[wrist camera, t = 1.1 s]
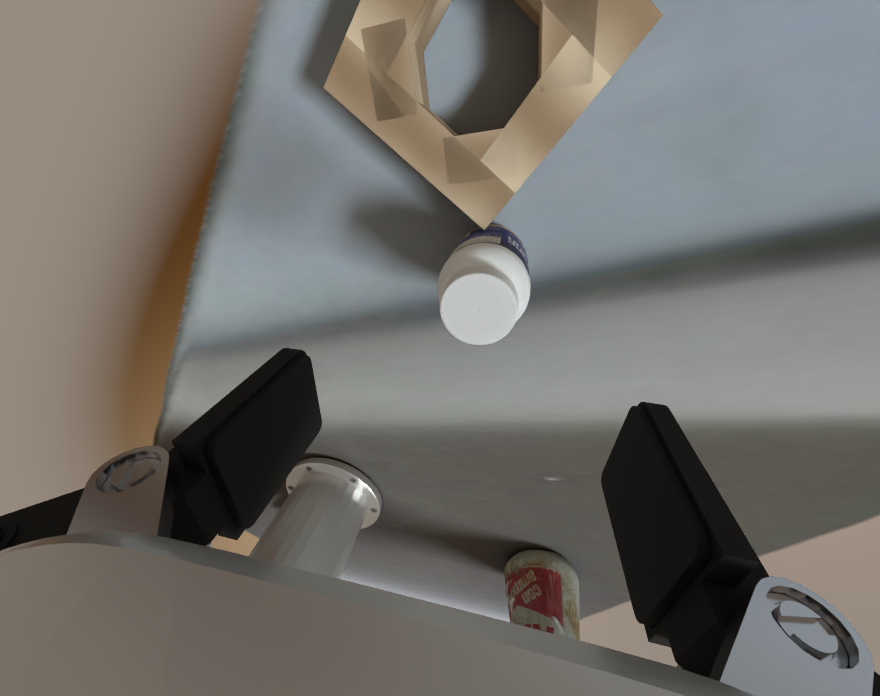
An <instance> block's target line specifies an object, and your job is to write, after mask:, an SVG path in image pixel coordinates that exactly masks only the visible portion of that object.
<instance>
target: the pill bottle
mask: <svg viewBox="0 0 880 696" xmlns="http://www.w3.org/2000/svg"><path fill="white" fill-rule="evenodd" d="M437 291H438V298H439V302H440V314H441V318H442V321H443V323H444V325H445V327H446V328H447V330H448V331H449V332H450V333H451V334H452V335H453V336H454V337H456V338H457V339H459V340H461V341H463V342H466V343H469V344H473V345H485V344H490V343H494V342H496V341H498V340H500V339H502V338H503V337H504V336H506V335H507V334H508V333H509V332H510V330H511V329H512V328H513V326H514V324H515V322H516V321H517V320H518V319H519V318H520V317H521V315H522V314H523V313H524V311H525V309H526V307H527V305H528V301H529V297H530V276H529V268H528V260H527V255H526V251H525V248H524V245H523V243H522V241H521V240H520V239H519V237H518V236H517V235H516V234H515V233H514V232H513V231H511V230H510V229H508V228H506V227H503V226H500V225H488V226H487V228H486V229H485V230H484V229H482V228H481V227H480V226H479V227H477V228H475V229H473V230H471V231H470V232H468V233H467V234H466V235H465V236H464V237H463V238H462V239H461V241H460V242H459V243H458V245H457V246H456V248H455V249H454V251H453V252H452V254H451V255H450V257H449V259H448V260H447V261H446V263H445V264H444V266H443V268H442V270H441V273H440V275H439V279H438V286H437Z"/></svg>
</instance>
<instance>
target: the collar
mask: <svg viewBox="0 0 880 696" xmlns="http://www.w3.org/2000/svg"><path fill="white" fill-rule="evenodd" d="M451 1H452V0H360V3H359V5H358V7H357V10H356V12H355V14H354V17H353V19H352V21H351V24H350V26H349V28H348V31H347V33H346V35H345V38H344V40H343V42H342V45H341V47H340V50H339V52H338V54H337V57H336V59H335V61H334V64H333V66H332V68H331V71H330V73H329V75H328V78H327V80H326V82H325V85H324V87H323V88H324V89H325V90H327V91H328V92H329V93H330V94H331V95H332V96H333V97H334V98H336V99H337V100H338V101H339V102H340V103H341V104H342V105H344V106H345V107H346V108H347V109H348V110H349V111H350V112H351V113H353V114H354V115H355V116H356V117H357V118H358V119H359V120H360V121H362V122H363V123H364V124H365V125H366V126H367V127H368V128H369V129H371V130H372V131H373V132H374V133H375V134H376V135H377V136H379V137H380V138H381V139H382V140H383V141H384V142H385V143H386V144H388V145H389V146H390V147H391V148H392V149H393V150H394V151H395V152H397V153H398V154H399V155H400V156H401V157H402V158H403V159H404V160H406V161H407V162H408V163H409V164H410V165H411V166H412V167H414V168H415V169H416V170H417V171H418V172H419V173H420V174H421V175H423V176H424V177H425V178H426V179H427V180H428V181H429V182H430V183H432V184H433V185H434V186H435V187H436V188H437V189H438V190H439V191H441V192H442V193H443V194H444V195H445V196H446V197H447V198H449V199H450V200H451V201H452V202H453V203H454V204H455V205H456V206H458V207H459V208H460V209H461V210H462V211H463V212H464V213H465V214H467V215H468V216H469V217H470V218H471V219H472V220H473V221H474V222H476V223H477V224H478V225H479V226H480V227H481V228H482V229H484V230H485V229H486V228H487V226H488V225H489V224H490V223H491V222H492V220H493V219H494V218H495V217H496V216H497V214H498V213H499V212H500V211H501V209H502V208H503V207H504V206H505V205H506V203H507V202H508V201H509V200H510V199H511V197H512V196H513V195H514V194H515V193H516V191H517V190H518V189H519V188H520V187H521V185H522V184H523V183H524V182H525V181H526V179H527V178H528V177H529V176H530V175H531V173H532V172H533V171H534V170H535V169H536V167H537V166H538V165H539V164H540V163H541V161H542V160H543V159H544V158H545V157H546V155H547V154H548V153H549V152H550V151H551V149H552V148H553V147H554V146H555V145H556V143H557V142H558V141H559V140H560V139H561V137H562V136H563V135H564V134H565V133H566V131H567V130H568V129H569V128H570V126H571V125H572V124H573V123H574V122H575V120H576V119H577V118H578V117H579V116H580V114H581V113H582V112H583V111H584V110H585V108H586V107H587V106H588V105H589V104H590V102H591V101H592V100H593V99H594V98H595V96H596V95H597V94H598V93H599V92H600V90H601V89H602V88H603V87H604V86H605V84H606V83H607V82H608V81H609V80H610V78H611V77H612V76H613V75H614V74H615V72H616V71H617V70H618V69H619V68H620V66H621V65H622V64H623V63H624V62H625V60H626V59H627V58H628V57H629V56H630V54H631V53H632V52H633V51H634V50H635V48H636V47H637V46H638V45H639V43H640V42H641V41H642V40H643V39H644V37H645V36H646V35H647V34H648V33H649V31H650V30H651V29H652V28H653V27H654V25H655V24H656V23H657V22H658V21H659V19H660V18H661V17H662V16H663V14H662V13H661V12H660V11H659V10H658V8H657V7H656V6H655V5H654V4H653V3H652V1H651V0H513V1H514V2H515V3H516V4H517V5H518V6H519V7H520V8H521V9H522V10H523V11H524V12H525V13H526V14H527V16H528V17H529V18H530V19H531V20H532V21H533V22H534V23H535V24H536V25H537V26H538V82H537V83H536V85H535V86H534V88H533V89H532V90H531V92H530V93H529V94H528V96H527V97H526V99H525V100H524V101H523V103H522V104H521V105H520V107H519V108H518V109H517V111H516V112H515V114H514V115H513V116H512V118H511V119H510V120H509V122H508V123H507V125H506V126H505V127H504V128H502V129H496V130H490V131H484V132H477V133H471V134H465V135H458V134H457V133H456V132H454V131H453V130H452V129H451V128H450V127H449V126H448V125H447V124H446V123H445V122H444V121H443V120H442V119H441V118H439V117H438V116H437V115H436V114H435V113H434V112H433V111H432V110H431V109H430V108H429V99H428V90H427V82H426V73H425V64H424V55H423V52H424V50H425V48H426V47H427V45H428V43H429V41H430V39H431V37H432V36H433V34H434V32H435V30H436V28H437V26H438V24H439V23H440V21H441V19H442V17H443V15H444V13H445V12H446V10H447V8H448V6H449V4H450V2H451Z"/></svg>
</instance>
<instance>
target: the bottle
mask: <svg viewBox="0 0 880 696" xmlns="http://www.w3.org/2000/svg"><path fill="white" fill-rule="evenodd" d="M505 583H506V597H507V599H508V609H509V616H510V623H514V624H518V625H521V626H525V627H529V628H533V629H537V630H541V631H545V632H548V633H552V634H556V635H560V636H564V637H568V638H572V639H576V640H579V641H580V631H579V629H580V622H579V582H578V577H577V575H576V572H575V571H574V569H573V568H572V566H571V565H570V564H569V563H568V561H567V560H566V559H565V558H564V557H563V556H561V555H560V554H558V553H554V552H551V551H545V550H531V549H530V550H525V551H522V552H519V553H518V554H516V555H514V556H513V557H512V558H511V559H510V560H509V561H508V562H507V564H506V566H505Z"/></svg>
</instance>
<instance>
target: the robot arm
mask: <svg viewBox="0 0 880 696" xmlns="http://www.w3.org/2000/svg"><path fill="white" fill-rule="evenodd" d="M321 425H322V419H321V414H320V408H319V402H318V397H317V391H316V385H315V380H314V374H313V368H312V363H311V359H310V357H309V356H307V355H306V353H305V352H304V351H303V350H297V349H290V348H283V349H282V350H280V351H279V352H278V353H277V354H276V355H274V356H273V357H272V358H271V359H270V360H268V361H267V362H266V363H265V364H264V365H262V366H261V367H260V368H259V369H258V370H256V371H255V372H254V373H253V374H252V375H250V376H249V377H248V378H247V379H246V380H244V381H243V382H242V383H241V384H240V385H238V386H237V387H236V388H235V389H234V390H232V391H231V392H230V393H229V394H228V395H226V396H225V397H224V398H223V399H222V400H220V401H219V402H218V403H217V404H216V405H214V406H213V407H212V408H211V409H210V410H208V411H207V412H206V413H205V414H204V415H202V416H201V417H200V418H199V419H198V420H196V421H195V422H194V423H193V424H192V425H190V426H189V427H188V428H187V429H186V430H184V431H183V432H182V433H181V434H180V435H178V436H177V437H176V438H175V439H174V440H172V443H173V445H174V448H173V449H172V450H171V451H169V452H167V451H166V450H165V449H164V448H161V447H158V446H146V447H140V448H135V449H132V450H129V451H127V452H124V453H122V454H120V455H118V456H116V457H114V458H112V459H110V460H109V461H107V462H106V463H104V464H103V465H101V466H100V467H99V468H98V469H97V470H96V471H95V472H94V473H93V474H92V475H91V477H90V478H89V480H88V482H87V483H86V486H85V488H83V489H80V490H77V491H74V492H72V493H68V494H65V495H62V496H59V497H57V498H53V499H50V500H48V501H44V502H42V503H39V504H36V505H33V506H30V507H27V508H24V509H21V510H18V511H15V512H12V513H9V514H6V515H3V516H0V696H880V675H878V674H877V673H876V672H874V666H873V661H872V655H871V653H870V651H869V649H868V648H867V646H866V644H865V642H864V640H863V638H862V637H861V636H860V634H859V633H858V632H857V631H856V629H855V628H854V627H853V625H852V624H851V623H850V622H849V621H848V620H847V619H846V618H845V617H844V616H843V615H842V614H841V613H840V612H839V611H838V610H837V609H836V608H835V607H834V606H832V605H831V604H830V603H828V602H827V601H826V600H825V599H823V598H822V597H821V596H819V595H818V594H817V593H815V592H813V591H811V590H810V589H808V588H806V587H804V586H802V585H801V584H799V583H796V582H793V581H791V580H788V579H785V578H780V577H772V576H771V577H769V575H768V574H767V572H766V570H765V568H764V567H763V565H762V563H761V562H760V560H759V558H758V557H757V555H756V553H755V552H754V550H753V548H752V547H751V545H750V543H749V542H748V540H747V538H746V537H745V535H744V533H743V531H742V530H741V528H740V526H739V525H738V523H737V521H736V520H735V518H734V516H733V515H732V513H731V511H730V510H729V508H728V506H727V505H726V503H725V501H724V500H723V498H722V496H721V495H720V493H719V491H718V490H717V488H716V486H715V484H714V483H713V481H712V479H711V478H710V476H709V474H708V473H707V471H706V469H705V468H704V466H703V465H702V463H701V461H700V460H699V458H698V456H697V455H696V453H695V451H694V450H693V448H692V446H691V445H690V443H689V441H688V440H687V438H686V436H685V435H684V433H683V431H682V430H681V428H680V426H679V424H678V423H677V421H676V419H675V418H674V416H673V414H672V413H671V411H670V409H669V408H668V407H667V406H665V405H660V404H654V403H647V402H641V403H639V404H638V406H632V407H631V408H630V410H629V412H628V415H627V417H626V419H625V422H624V424H623V426H622V428H621V431H620V433H619V435H618V438H617V440H616V442H615V445H614V447H613V449H612V451H611V454H610V456H609V458H608V461H607V463H606V465H605V468H604V470H603V472H602V477H601V484H602V488H603V492H604V496H605V500H606V504H607V508H608V512H609V516H610V520H611V524H612V528H613V532H614V536H615V540H616V543H617V547H618V551H619V555H620V559H621V563H622V567H623V571H624V575H625V579H626V583H627V587H628V591H629V594H630V598H631V602H632V606H633V610H634V614H635V617H636V619H637V621H638V622H639V623H641V624H644V626H645V630H646V634H647V637H648V641H649V642H652V643H656V644H660V645H664V646H668V647H671V649H672V652H673V655H674V658H675V661H676V662H677V663H678V665H677V667H674V666H670V665H666V664H663V663H659V662H655V661H652V660H648V659H645V658H641V657H638V656H634V655H630V654H626V653H623V652H620V651H615V650H612V649H609V648H605V647H602V646H598V645H594V644H590V643H587V642H583V641H579V640H576V639H572V638H568V637H564V636H560V635H556V634H552V633H548V632H545V631H541V630H537V629H533V628H529V627H525V626H521V625H518V624H514V623H510V622H506V621H502V620H498V619H494V618H491V617H487V616H483V615H479V614H475V613H471V612H467V611H464V610H460V609H456V608H452V607H448V606H444V605H440V604H436V603H432V602H428V601H424V600H420V599H416V598H412V597H408V596H404V595H401V594H397V593H393V592H389V591H385V590H381V589H377V588H373V587H369V586H365V585H361V584H357V583H353V582H349V581H345V580H341V579H340V577H341V574H342V572H343V569H344V567H345V564H346V562H347V560H348V557H349V555H350V552H351V550H352V548H353V545H354V543H355V540H356V538H357V536H358V533H359V531H360V529H363V528H366V527H369V526H370V525H372V524H374V523H375V522H376V521H377V519H378V517H379V515H380V512H381V509H382V499H381V496H380V493H379V492H378V490H377V488H376V487H375V485H374V484H373V483H372V482H371V481H370V480H369V479H368V478H367V477H366V476H365V475H364V474H362V473H361V472H360V471H358V470H357V469H355V468H353V467H351V466H349V465H347V464H345V463H342V462H340V461H337V460H333V459H328V458H309V459H304V460H302V461H300V462H298V461H299V460H300V458H301V457H302V455H303V454H304V453H305V451H306V450H307V448H308V447H309V446H310V444H311V443H312V441H313V440H314V439H315V437H316V436H317V434H318V433H319V431H320V429H321ZM285 479H286V488H287V491H288V494H289V496H288V498H287V499H286V501H285V502H284V504H283V505H282V507H281V508H280V510H279V511H278V513H277V514H276V516H275V517H274V519H273V520H272V522H271V523H270V525H269V526H268V528H267V529H266V531H265V532H264V534H263V535H262V537H261V538H260V540H259V541H258V543H257V544H256V546H255V547H254V549H253V550H252V552H251V553H250V555H249V556H244V555H240V554H236V553H232V552H228V551H224V550H219V549H215V548H211V541H212V540H213V539H214V538H215V536H216V535H217V534H218V535H219V536H223V537H227V538H231V539H235V540H238V538H239V537H240V535H241V534H242V533H243V531H244V530H245V529H248V528H250V527H251V526H252V525H253V524H254V523H255V522H256V520H257V519H258V518H259V516H260V515H261V513H262V512H263V510H264V509H265V508H266V506H267V505H268V503H269V502H270V501H271V499H272V498H273V496H274V495H275V494H276V492H277V491H278V489H279V488H280V486H281V485H282V484H283V482H284V481H285Z"/></svg>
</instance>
